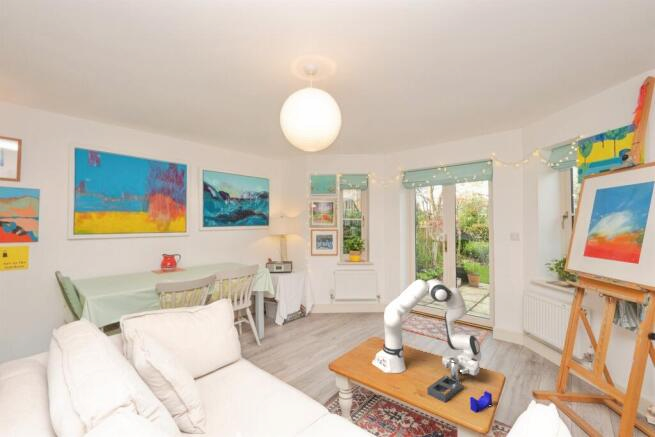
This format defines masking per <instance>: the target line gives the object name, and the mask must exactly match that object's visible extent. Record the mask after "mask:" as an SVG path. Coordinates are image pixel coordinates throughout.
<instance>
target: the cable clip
mask: <svg viewBox="0 0 655 437" xmlns="http://www.w3.org/2000/svg"><path fill="white" fill-rule="evenodd" d="M492 396H493V395H492V393H491V392H489V391H487V390H485V391H484V393H483V395H481V396H479V398H478V399H476V398H475V397H473V396H470V397H469V401H470V402H469V403H470V404H469V406H470V410H471V411H472V412H474V413H476V414H478V413H479V412H481V411H483V409H484V410H486V409H488V408H490V407H489V405H492V406H493V397H492ZM487 407H488V408H487ZM485 408H486V409H485Z"/></svg>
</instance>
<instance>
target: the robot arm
mask: <svg viewBox="0 0 655 437" xmlns="http://www.w3.org/2000/svg"><path fill="white" fill-rule="evenodd" d="M426 296H430V297H431V298H432V299H433V301H435V302H438V303H444V302H445V306H446V309H447V310H446V311H445V312H444V313H445V314H444V322H445V329H446V340H447V342H446V343H447V345H448V346H449V347H450V349H452V350H459V351H462V353H460V354H458V355H457V357H456V356H453V355H445V356H442V357H441V358H442V359H441V361H442V364H443V365H444V368H446V369H449V367H450V361H449V358H452V357H453V358H457V359H458V360H459V363H458V371H460V372H459V373H460V374H462V375H464V374H469V375H471V376H477V375H478V374H479V373H480V361H481V359H482V357H483V356H482V352H481V350H480V348H481V347H480V342H479V341H478V339H477V337H475V336H474V335H471V334H462V333H457V332H456V330H455V321H457V320H460V319H462V318H463V317H465V316H466V314H467V305H466V303H465V299H464V297H463V295H462V293H461V292H460V289H458V287H454V286H449V287H447V286H446V285H445V284H444V282H442V281H441V280H440V279H439V278H434V277H432V278H431V277H430V278H429V279H426V280H423V279H420V278H419V279H416V280H415V281H414V282H412V283H411V284H410V285H408V287H406V289H405V290H403V292H401V293H400V294H399V295H398V297H397V298H395V299H394V300H392V301H391V302H390V303H388V305H386V306H385V308H384V311H383V312H384V314H383V324H384V325H383V326H384V344H382V345H381V348H382V349H381V350H379V351H378V352H377V353H376V354H375V358H374V359H372V362H371V365H373V366H375V367H376V368H377V369H378V370H381V371H382V372H383V373H386V374H390V373H391V374H392V373H393V374H400V373H403V372H405V371H406V369H407V367H406V363H405V359H404V345H403V318H402V317H403V316H404V315H405V314H406V313H408V312H410V311H412V310H413V309H414V308H415V307H416V306H417V305H418V304H419V303H420V302H421V301H422V300H423V299H424V298H425V297H426Z"/></svg>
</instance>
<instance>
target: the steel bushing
mask: <svg viewBox="0 0 655 437" xmlns="http://www.w3.org/2000/svg"><path fill="white" fill-rule="evenodd" d="M453 357H454V356H453ZM453 357H452V358H449V361H450V366H449V367H450V378H453V379H455V380H458V381H460V378H459V370H458V363H459V360H458V359H457V357H456V358H453Z"/></svg>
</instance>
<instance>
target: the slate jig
mask: <svg viewBox="0 0 655 437" xmlns="http://www.w3.org/2000/svg"><path fill="white" fill-rule="evenodd" d="M462 389H463V382H462V381H460V380H459V381H458V380H455V379H453V378H451V376H448V375H443V376H442V377H441V378H438V380H436V381H434V382H433V383H432V384H430V385H429V386H428V387H427V391H426V392H427V395H428V396H430V397H432V398H434V399H437V400H438V401H441V402H442V403H446V402H448V401H449V400H450V399H451V398H453V397H454V396H455V395H456V394H457V393H459V392H460V391H461V390H462Z"/></svg>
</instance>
